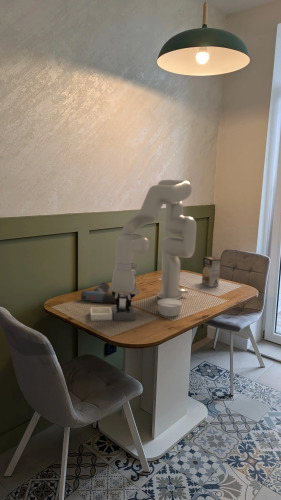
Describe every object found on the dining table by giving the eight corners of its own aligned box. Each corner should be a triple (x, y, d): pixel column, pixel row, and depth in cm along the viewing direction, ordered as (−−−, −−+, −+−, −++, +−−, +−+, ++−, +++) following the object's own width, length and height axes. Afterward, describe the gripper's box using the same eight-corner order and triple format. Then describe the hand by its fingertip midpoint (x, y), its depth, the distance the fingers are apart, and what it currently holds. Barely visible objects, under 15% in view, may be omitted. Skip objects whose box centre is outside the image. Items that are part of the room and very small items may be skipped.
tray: (110, 312, 161) (110, 306, 161) (112, 320, 153) (112, 314, 152) (90, 312, 160) (90, 307, 159) (91, 320, 151) (91, 314, 151)
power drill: (128, 293, 190) (117, 306, 171) (94, 290, 194) (80, 302, 175) (128, 284, 189) (117, 295, 170) (95, 280, 193) (80, 291, 174)
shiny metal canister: (119, 311, 159) (120, 292, 157) (128, 312, 158) (129, 293, 156) (116, 315, 155) (117, 295, 153) (126, 316, 154) (127, 296, 152)
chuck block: (131, 312, 162) (131, 305, 161) (134, 320, 153) (134, 312, 153) (111, 313, 160) (111, 306, 160) (113, 320, 152) (113, 313, 151)
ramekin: (163, 319, 156) (164, 307, 155) (152, 310, 166) (153, 299, 165) (185, 316, 161) (186, 304, 160) (173, 307, 171) (174, 297, 170)
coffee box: (201, 282, 215) (203, 256, 212) (210, 282, 217) (212, 256, 214) (209, 287, 207) (211, 260, 204) (219, 286, 209) (221, 259, 206)
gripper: (145, 266, 154) (143, 306, 158) (108, 262, 158) (107, 302, 161) (141, 270, 147) (140, 312, 151) (102, 266, 151) (102, 308, 154)
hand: (123, 306), depth 156 cm, fingers closed on shiny metal canister, 4 cm apart
